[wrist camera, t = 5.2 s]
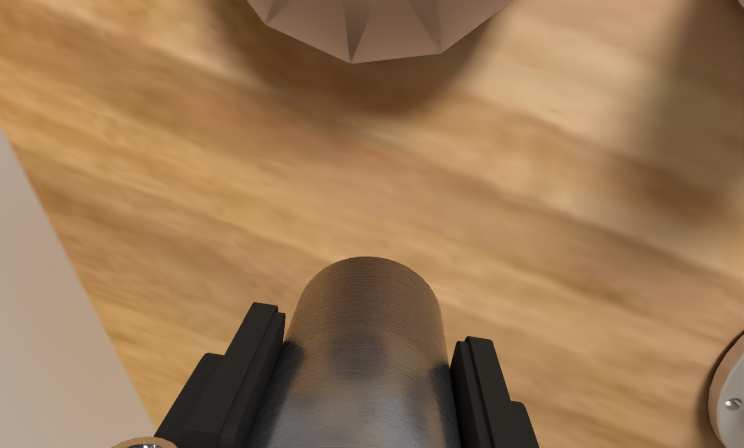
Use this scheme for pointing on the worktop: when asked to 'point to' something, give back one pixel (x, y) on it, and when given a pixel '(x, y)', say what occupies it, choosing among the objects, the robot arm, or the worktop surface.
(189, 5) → the worktop surface
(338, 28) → the bead
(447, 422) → the peg
